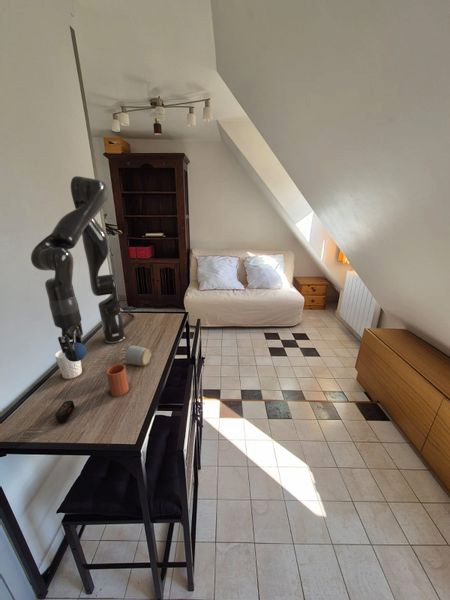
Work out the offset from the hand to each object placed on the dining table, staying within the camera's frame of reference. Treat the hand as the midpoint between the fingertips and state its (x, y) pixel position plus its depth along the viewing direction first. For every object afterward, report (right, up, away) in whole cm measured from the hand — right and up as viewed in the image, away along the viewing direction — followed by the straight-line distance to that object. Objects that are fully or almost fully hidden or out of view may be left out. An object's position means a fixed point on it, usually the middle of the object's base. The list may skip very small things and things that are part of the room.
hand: (76, 354), depth 85 cm
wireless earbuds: (0, -18, -5) cm, 19 cm away
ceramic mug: (+15, -8, +22) cm, 28 cm away
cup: (+13, -14, +5) cm, 20 cm away
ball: (0, +1, 0) cm, 1 cm away
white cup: (-10, -11, +14) cm, 21 cm away
